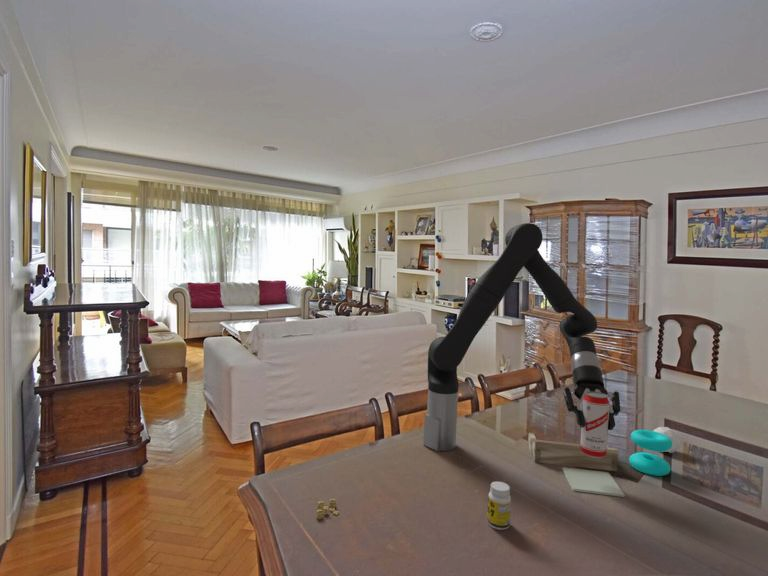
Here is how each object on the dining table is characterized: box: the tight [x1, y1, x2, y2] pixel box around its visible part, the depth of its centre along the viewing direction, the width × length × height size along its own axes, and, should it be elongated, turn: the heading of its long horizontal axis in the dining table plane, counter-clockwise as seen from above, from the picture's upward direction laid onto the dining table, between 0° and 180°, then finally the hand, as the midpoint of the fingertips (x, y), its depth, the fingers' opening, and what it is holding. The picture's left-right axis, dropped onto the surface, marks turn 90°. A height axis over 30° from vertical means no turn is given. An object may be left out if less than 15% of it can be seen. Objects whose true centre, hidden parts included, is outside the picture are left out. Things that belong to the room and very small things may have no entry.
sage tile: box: [561, 466, 626, 498], centre depth 113 cm, size 12×12×1 cm
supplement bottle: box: [486, 481, 512, 531], centre depth 93 cm, size 5×5×8 cm
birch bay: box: [527, 432, 619, 472], centre depth 128 cm, size 12×22×6 cm, turn 80°
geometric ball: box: [652, 426, 681, 454], centre depth 135 cm, size 8×8×8 cm
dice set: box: [315, 498, 340, 520], centre depth 95 cm, size 5×5×2 cm
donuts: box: [628, 429, 672, 477], centre depth 122 cm, size 10×10×10 cm
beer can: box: [579, 392, 611, 459], centre depth 112 cm, size 6×6×16 cm
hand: (596, 427), depth 111 cm, fingers closed on beer can, 6 cm apart
